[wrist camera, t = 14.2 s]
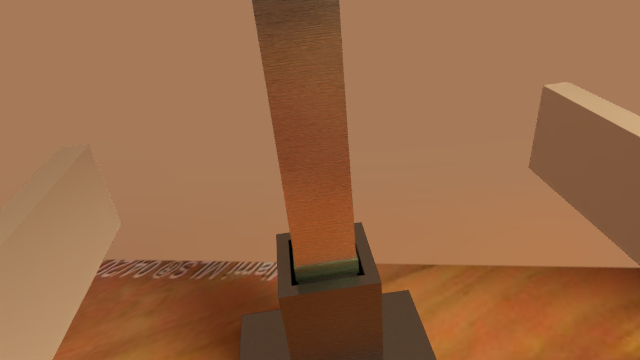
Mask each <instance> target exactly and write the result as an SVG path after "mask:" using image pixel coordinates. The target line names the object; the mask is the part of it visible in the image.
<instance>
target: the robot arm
mask: <svg viewBox="0 0 640 360" xmlns="http://www.w3.org/2000/svg"><path fill="white" fill-rule="evenodd" d="M529 168H530V169H531V170H532V171H533V172H534V173H536V174H537V175H538V176H539V177H540V178H541V179H542V180H543V181H545V182H546V183H547V184H548V185H549V186H550V187H551V188H553V189H554V190H555V191H556V192H557V193H558V194H559V195H561V196H562V197H563V198H564V199H565V200H566V201H567V202H568V203H570V204H571V205H572V206H573V207H574V208H575V209H576V210H578V211H579V212H580V213H581V214H582V215H583V216H585V217H586V218H587V219H588V220H589V221H590V222H591V223H592V224H593V225H595V226H596V227H597V228H598V229H599V230H600V231H601V232H603V233H604V234H605V235H606V236H607V237H608V238H609V239H611V240H612V241H613V242H614V243H615V244H616V245H617V246H619V247H620V248H621V249H622V250H623V251H624V252H625V253H626V254H628V255H629V256H630V257H631V258H632V259H633V260H634V261H636V262H637V263H638V264H639V265H640V116H638V115H636V114H634V113H632V112H630V111H627V110H625V109H623V108H621V107H619V106H617V105H615V104H613V103H611V102H609V101H607V100H604V99H603V98H600V97H598V96H596V95H594V94H592V93H590V92H588V91H586V90H584V89H582V88H579V87H578V86H575V85H573V84H571V83H569V82H566V83H558V84H550V85H543V90H542V95H541V101H540V107H539V112H538V118H537V123H536V129H535V135H534V140H533V146H532V152H531V157H530V163H529ZM120 226H121V221H120V218H119V216H118V214H117V211H116V209H115V206H114V204H113V202H112V199H111V197H110V194H109V192H108V189H107V187H106V184H105V182H104V180H103V177H102V175H101V172H100V170H99V167H98V165H97V162H96V160H95V158H94V155H93V153H92V150H91V148H90V145H89V144H86V145H78V146H71V147H63V148H60V149H59V150H58V152H56V153H55V154H54V156H53V157H52V158H50V159H49V160H48V162H47V163H46V164H45V165H44V166H43V167H42V168H41V169H40V170H39V171H38V172H37V173H36V174H35V175H34V176H33V177H32V178H31V179H30V180H29V181H28V182H27V183H26V184H25V185H24V186H23V187H22V188H21V189H20V190H19V191H18V192H17V193H16V194H15V195H14V196H13V197H12V198H11V199H10V200H9V201H8V202H7V203H6V204H5V205H4V206H3V207H2V208H1V209H0V360H53V358H54V356H55V354H56V352H57V350H58V348H59V346H60V344H61V342H62V340H63V338H64V336H65V334H66V332H67V330H68V328H69V326H70V324H71V322H72V320H73V318H74V316H75V314H76V312H77V310H78V308H79V307H80V305H81V303H82V301H83V299H84V297H85V295H86V293H87V291H88V289H89V287H90V285H91V283H92V281H93V279H94V277H95V275H96V273H97V271H98V269H99V267H100V265H101V263H102V261H103V259H104V257H105V256H106V253H107V252H108V249H109V248H110V246H111V244H112V242H113V240H114V238H115V236H116V234H117V232H118V230H119V228H120Z"/></svg>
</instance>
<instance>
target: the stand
mask: <svg viewBox="0 0 640 360" xmlns="http://www.w3.org/2000/svg"><path fill="white" fill-rule="evenodd" d="M354 232H355V247H356V254H357V257H358V264H359V273H357V276H355V277H349V278H342V279H335V280H329V281H322V282H315V283H309V284H302V285H299V284H298V282H296V277H295V271H294V260H293V248H292V241H291V235H290V233H284V234H277V235H276V238H277V270H278V298H279V303H280V308H281V309H279V310H273V311H266V312H260V313H253V314H246V315H242V322H241V338H240V353H239V360H436V357H435V355H434V352H433V350H432V347H431V345H430V342H429V340H428V337H427V335H426V332H425V330H424V327H423V325H422V322H421V320H420V317H419V315H418V312H417V310H416V307H415V305H414V302H413V300H412V297H411V295H410V293H409V290H405V291H398V292H391V293H385V294H382V288H381V280H380V277H379V274H378V271H377V268H376V265H375V262H374V259H373V256H372V253H371V250H370V247H369V244H368V241H367V238H366V235H365V232H364V229H363V226H362V223H361V222H360V223H354Z"/></svg>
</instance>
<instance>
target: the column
mask: <svg viewBox="0 0 640 360" xmlns="http://www.w3.org/2000/svg"><path fill="white" fill-rule="evenodd" d="M252 3H253V9H254V16H255V21H256V27H257V34H258V40H259V46H260V52H261V58H262V64H263V71H264V77H265V83H266V89H267V95H268V101H269V107H270V113H271V119H272V125H273V132H274V138H275V144H276V150H277V156H278V162H279V168H280V174H281V180H282V186H283V192H284V198H285V205H286V211H287V217H288V223H289V229H290V235H291V241H292V248H293V260H294V271H295V277H296V282H298V284H299V285H302V284H309V283H315V282H322V281H329V280H335V279H342V278H349V277H355V276H357V273H359V264H358V257H357V254H356V247H355V232H354V218H353V202H352V189H351V173H350V158H349V144H348V128H347V113H346V98H345V83H344V68H343V53H342V39H341V24H340V8H339V0H252Z"/></svg>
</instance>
